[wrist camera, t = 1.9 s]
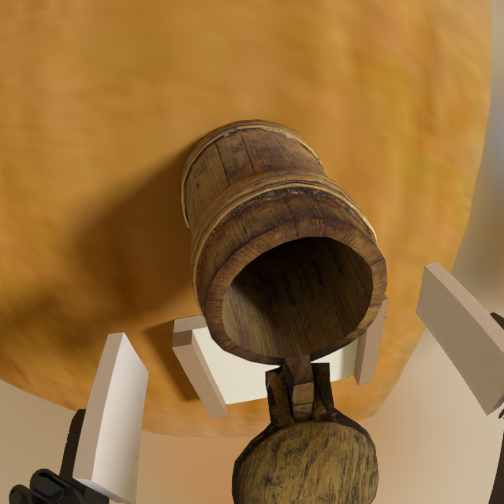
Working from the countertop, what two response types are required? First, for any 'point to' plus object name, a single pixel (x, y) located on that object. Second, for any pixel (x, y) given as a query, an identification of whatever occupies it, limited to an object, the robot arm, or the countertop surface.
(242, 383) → the ledge board
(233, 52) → the countertop surface
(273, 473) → the wooden mug
